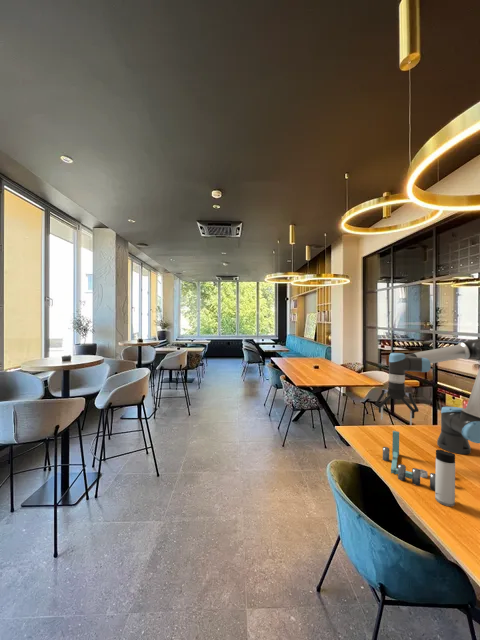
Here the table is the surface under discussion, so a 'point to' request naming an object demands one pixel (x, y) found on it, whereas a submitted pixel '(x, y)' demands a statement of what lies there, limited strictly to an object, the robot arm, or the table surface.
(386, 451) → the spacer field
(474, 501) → the table surface
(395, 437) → the teal bent bar
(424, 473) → the hexagonal star block
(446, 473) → the travel mug
